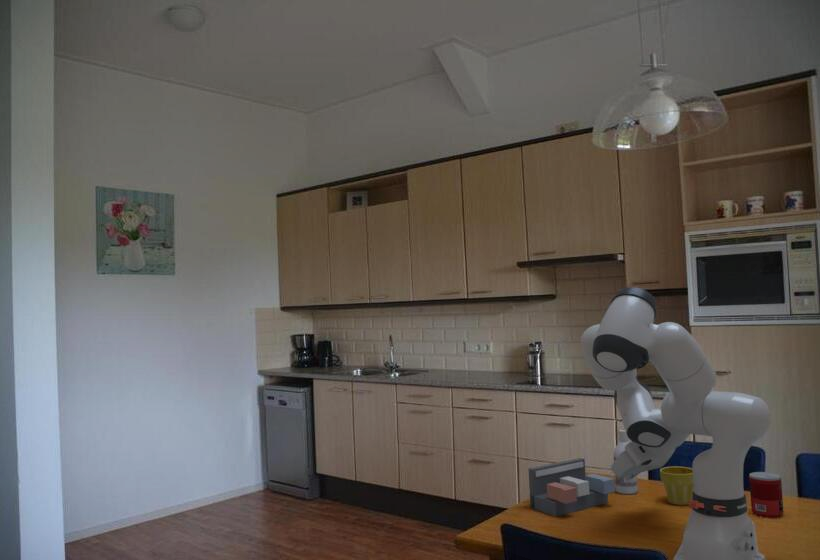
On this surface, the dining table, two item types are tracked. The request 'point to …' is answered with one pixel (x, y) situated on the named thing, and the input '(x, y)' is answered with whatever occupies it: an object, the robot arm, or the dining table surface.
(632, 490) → the bath foam
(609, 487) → the slate-blue key
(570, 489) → the terracotta key
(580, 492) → the ivory key
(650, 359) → the robot arm
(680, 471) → the plant pot
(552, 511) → the console
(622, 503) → the dining table surface
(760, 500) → the canned food
